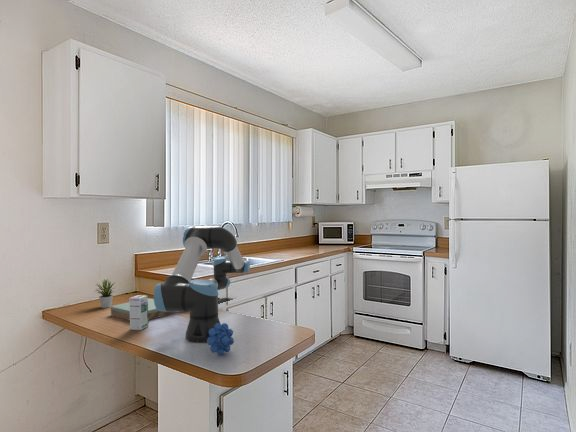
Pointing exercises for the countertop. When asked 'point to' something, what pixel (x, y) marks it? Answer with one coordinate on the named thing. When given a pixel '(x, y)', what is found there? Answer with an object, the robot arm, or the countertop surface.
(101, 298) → the house plant
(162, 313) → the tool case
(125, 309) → the lid
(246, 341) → the countertop surface
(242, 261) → the robot arm
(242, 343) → the countertop surface
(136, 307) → the syrup box
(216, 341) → the grapes
